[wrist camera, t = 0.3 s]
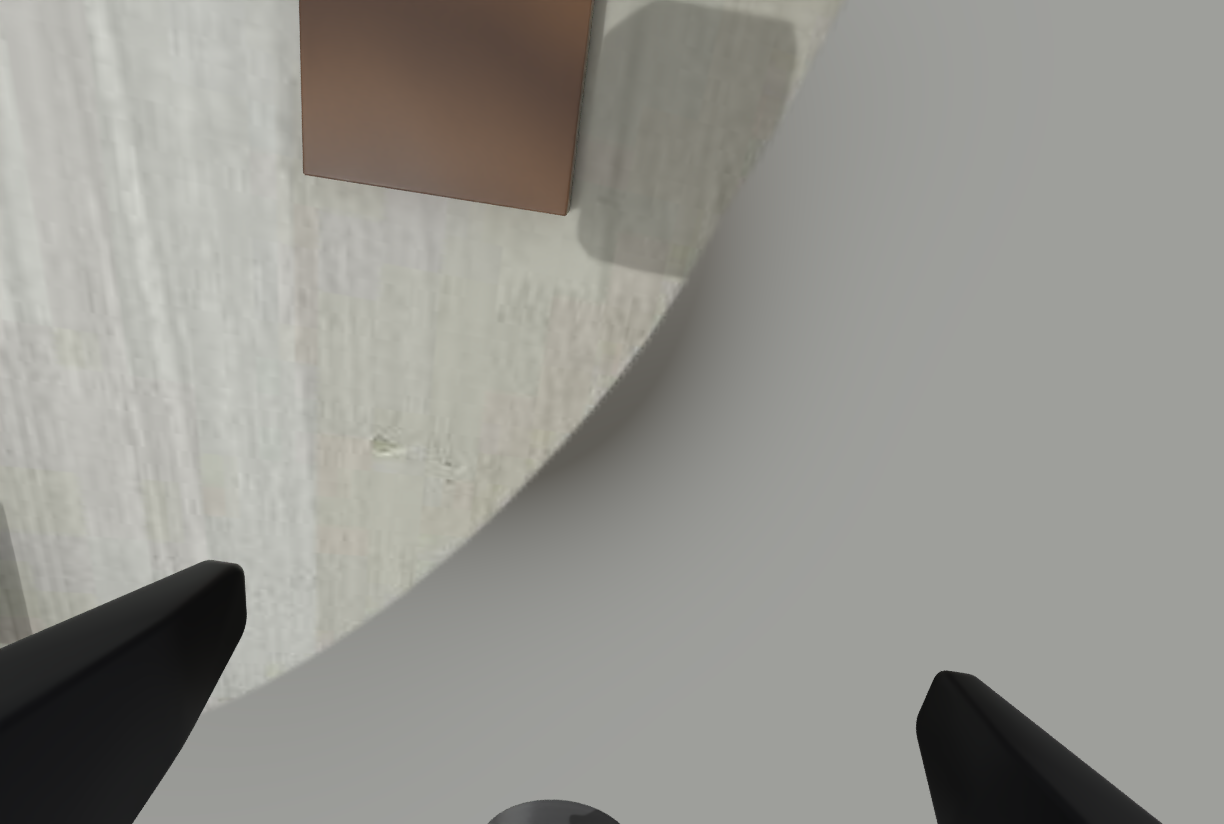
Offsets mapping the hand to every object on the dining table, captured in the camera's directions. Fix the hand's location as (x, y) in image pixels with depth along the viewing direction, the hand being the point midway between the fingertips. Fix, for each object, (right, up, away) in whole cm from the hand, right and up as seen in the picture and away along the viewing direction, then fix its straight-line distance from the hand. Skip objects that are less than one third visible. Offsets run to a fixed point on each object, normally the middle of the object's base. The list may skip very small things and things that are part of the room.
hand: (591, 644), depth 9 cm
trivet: (-4, +12, +9) cm, 16 cm away
